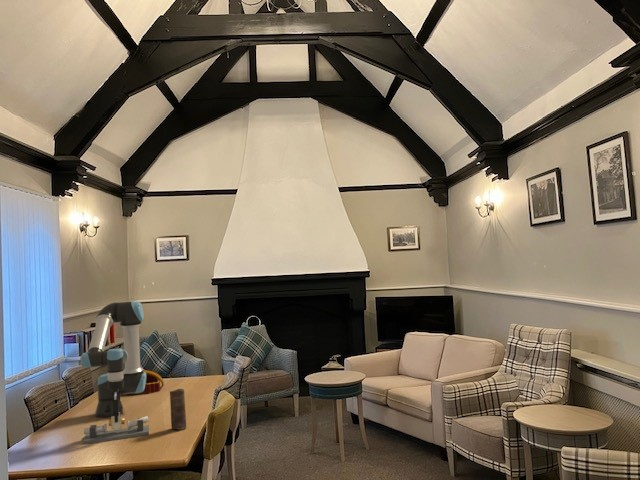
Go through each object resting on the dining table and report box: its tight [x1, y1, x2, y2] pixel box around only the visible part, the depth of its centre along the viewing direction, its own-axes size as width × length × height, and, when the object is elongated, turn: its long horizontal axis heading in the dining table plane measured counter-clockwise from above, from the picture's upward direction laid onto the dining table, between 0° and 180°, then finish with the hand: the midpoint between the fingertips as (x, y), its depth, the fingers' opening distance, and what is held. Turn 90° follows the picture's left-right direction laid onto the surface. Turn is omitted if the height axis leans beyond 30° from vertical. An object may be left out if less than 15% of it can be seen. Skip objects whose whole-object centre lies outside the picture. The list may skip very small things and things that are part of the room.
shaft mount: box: [82, 415, 150, 445], centre depth 255 cm, size 30×12×8 cm, turn 108°
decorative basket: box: [120, 369, 165, 396], centre depth 356 cm, size 34×29×15 cm
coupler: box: [108, 413, 126, 431], centre depth 255 cm, size 7×4×6 cm, turn 108°
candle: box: [169, 388, 187, 430], centre depth 262 cm, size 8×7×20 cm
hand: (117, 427), depth 255 cm, fingers closed on coupler, 4 cm apart
